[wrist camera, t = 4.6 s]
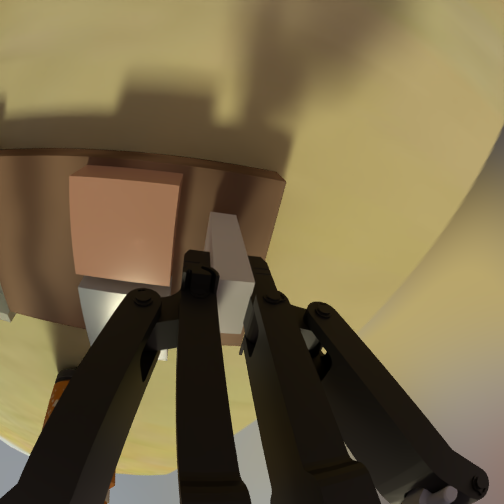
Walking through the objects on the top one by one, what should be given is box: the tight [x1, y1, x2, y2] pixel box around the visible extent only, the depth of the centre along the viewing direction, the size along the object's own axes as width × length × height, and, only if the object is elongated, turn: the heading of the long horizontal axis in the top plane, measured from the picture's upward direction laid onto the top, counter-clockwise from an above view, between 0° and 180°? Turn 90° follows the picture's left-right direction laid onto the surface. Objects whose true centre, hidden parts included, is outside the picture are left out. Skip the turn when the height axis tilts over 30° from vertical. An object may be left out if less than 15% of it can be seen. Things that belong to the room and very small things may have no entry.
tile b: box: [78, 275, 172, 361], centre depth 18 cm, size 6×6×2 cm
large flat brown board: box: [0, 148, 286, 346], centre depth 18 cm, size 22×14×2 cm, turn 77°
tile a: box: [69, 165, 183, 287], centre depth 15 cm, size 6×6×2 cm
